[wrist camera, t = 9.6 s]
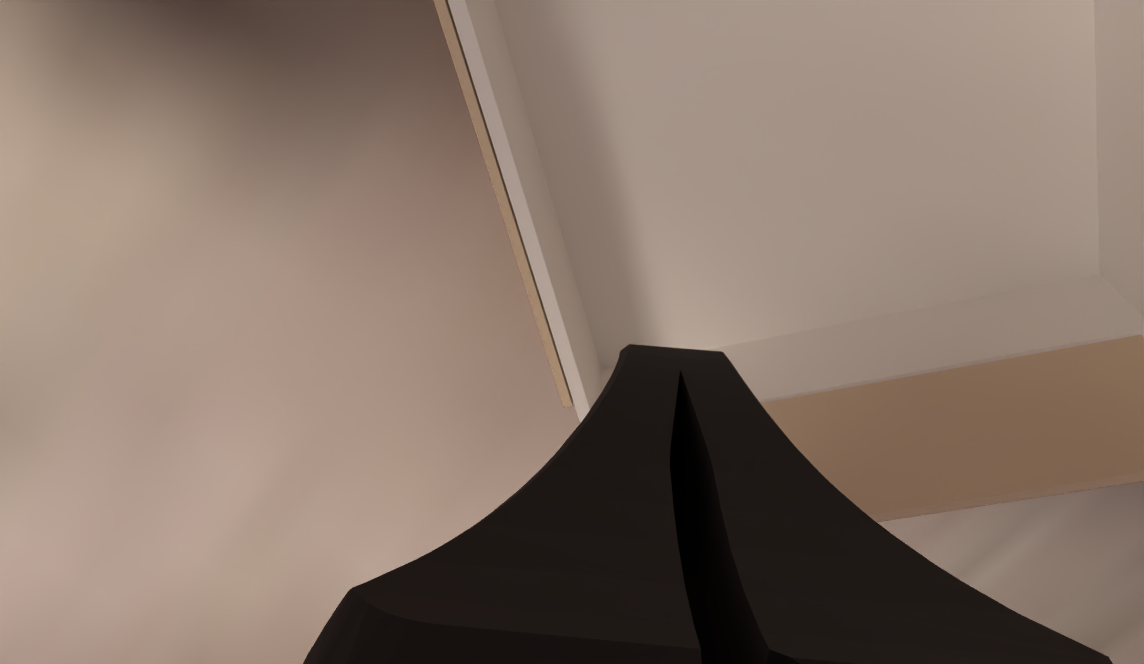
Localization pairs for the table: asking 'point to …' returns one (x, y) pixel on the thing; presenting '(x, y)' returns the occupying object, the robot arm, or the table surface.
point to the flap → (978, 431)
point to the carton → (813, 179)
